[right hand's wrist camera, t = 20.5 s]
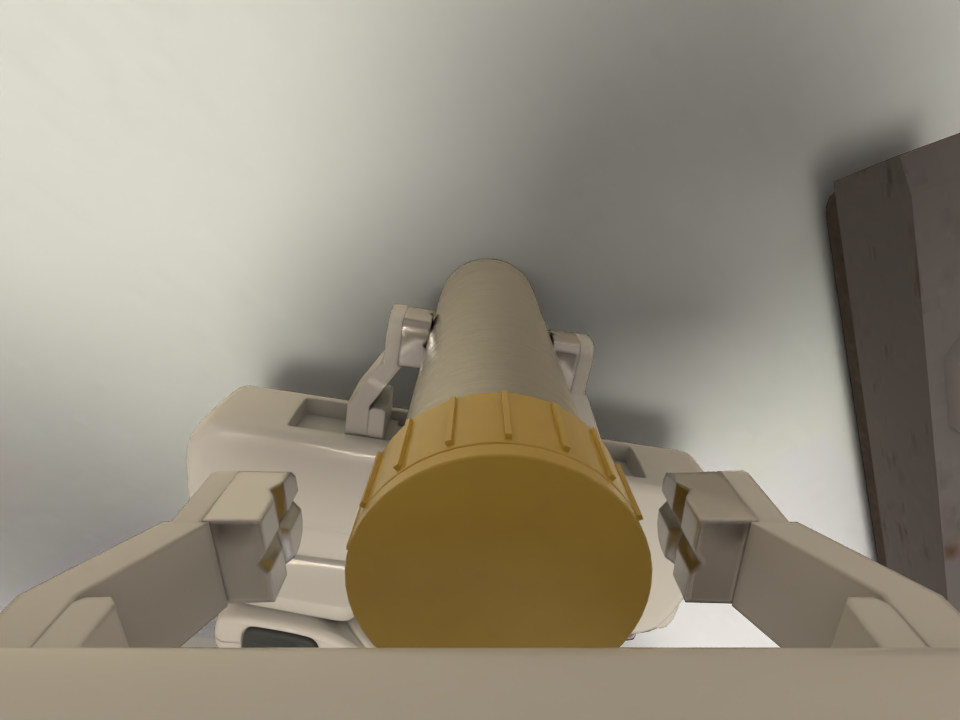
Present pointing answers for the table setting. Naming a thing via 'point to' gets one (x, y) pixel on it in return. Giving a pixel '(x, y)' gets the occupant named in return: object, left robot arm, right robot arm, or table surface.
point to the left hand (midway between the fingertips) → (491, 323)
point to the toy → (906, 352)
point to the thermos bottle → (488, 341)
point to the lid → (497, 533)
